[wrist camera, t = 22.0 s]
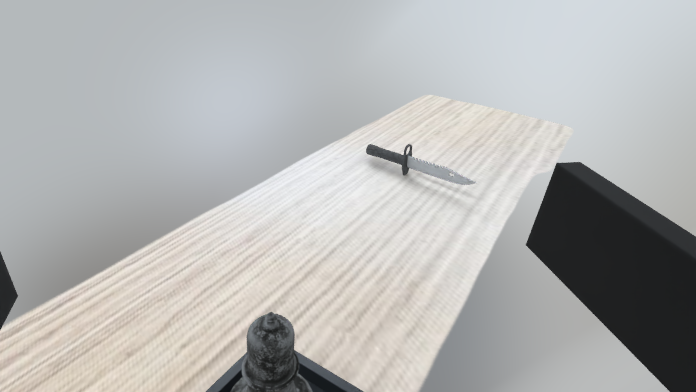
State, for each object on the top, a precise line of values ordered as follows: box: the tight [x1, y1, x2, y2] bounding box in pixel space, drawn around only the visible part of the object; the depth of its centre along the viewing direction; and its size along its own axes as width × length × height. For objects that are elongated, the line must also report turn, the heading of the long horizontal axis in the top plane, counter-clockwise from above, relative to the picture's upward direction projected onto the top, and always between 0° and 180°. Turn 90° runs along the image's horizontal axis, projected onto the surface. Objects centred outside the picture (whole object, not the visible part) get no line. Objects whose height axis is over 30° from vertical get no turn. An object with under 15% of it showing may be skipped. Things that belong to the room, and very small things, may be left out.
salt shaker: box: [231, 312, 313, 392], centre depth 28 cm, size 6×6×12 cm
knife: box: [366, 144, 476, 185], centre depth 67 cm, size 19×2×5 cm, turn 52°
